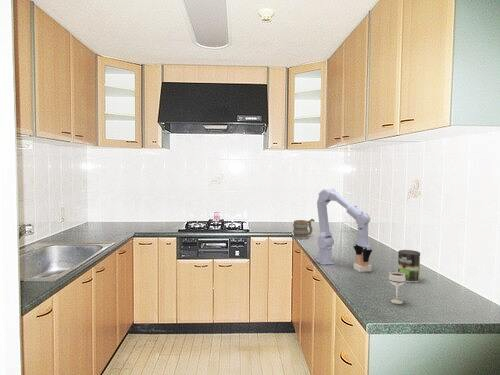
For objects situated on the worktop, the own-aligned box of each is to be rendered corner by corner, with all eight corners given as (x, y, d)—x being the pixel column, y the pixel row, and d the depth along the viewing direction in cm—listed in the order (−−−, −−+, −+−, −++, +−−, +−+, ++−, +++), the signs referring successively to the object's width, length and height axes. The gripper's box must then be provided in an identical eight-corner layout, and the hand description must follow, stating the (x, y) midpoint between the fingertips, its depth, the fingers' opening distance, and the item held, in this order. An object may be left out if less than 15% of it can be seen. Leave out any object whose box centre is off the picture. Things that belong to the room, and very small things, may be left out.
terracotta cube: (356, 263, 210) (356, 254, 209) (364, 263, 211) (364, 254, 210) (360, 265, 205) (360, 256, 204) (368, 265, 206) (368, 256, 205)
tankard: (297, 240, 295) (297, 221, 294) (289, 237, 306) (289, 219, 306) (319, 238, 303) (319, 219, 302) (310, 235, 314) (310, 217, 314)
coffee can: (413, 284, 182) (414, 255, 182) (393, 279, 190) (394, 251, 189) (423, 279, 189) (424, 252, 188) (404, 275, 197) (404, 248, 196)
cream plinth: (353, 268, 211) (353, 263, 210) (365, 267, 212) (365, 262, 212) (359, 271, 204) (359, 266, 204) (371, 271, 205) (371, 265, 205)
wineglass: (400, 298, 162) (401, 271, 161) (408, 304, 155) (408, 275, 155) (385, 298, 162) (385, 271, 161) (392, 304, 155) (392, 275, 154)
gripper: (376, 237, 201) (375, 263, 201) (363, 233, 215) (362, 256, 215) (364, 238, 199) (363, 263, 200) (351, 233, 213) (351, 257, 214)
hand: (362, 260), depth 208 cm, fingers open, 7 cm apart
